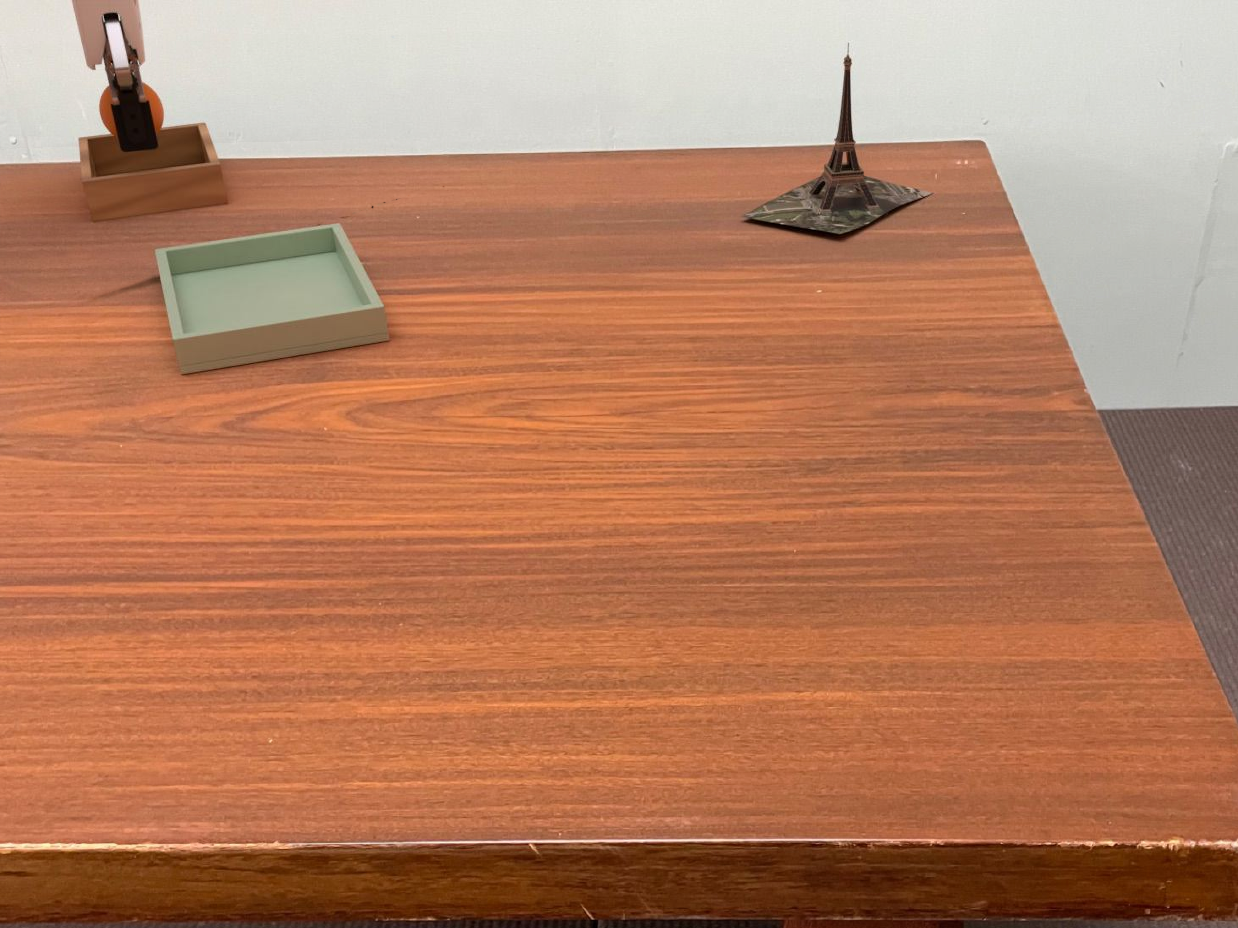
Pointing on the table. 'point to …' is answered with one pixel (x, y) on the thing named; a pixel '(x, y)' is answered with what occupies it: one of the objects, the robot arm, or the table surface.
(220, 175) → the wooden box
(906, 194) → the eiffel tower figurine
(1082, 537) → the table surface
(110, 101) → the orange
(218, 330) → the tray
